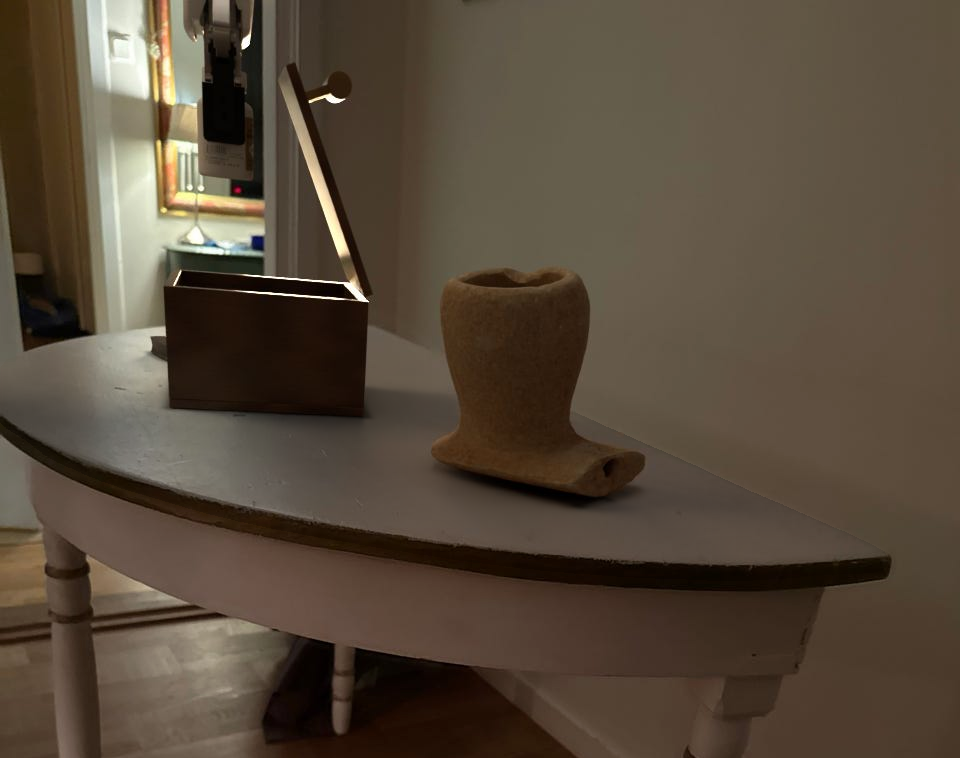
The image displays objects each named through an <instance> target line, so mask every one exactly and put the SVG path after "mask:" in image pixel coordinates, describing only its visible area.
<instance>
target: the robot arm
mask: <svg viewBox="0 0 960 758" xmlns="http://www.w3.org/2000/svg"><path fill="white" fill-rule="evenodd" d="M254 7H255V0H182V11H183V13H182V23H183V29H184V31H185V33H186V36H187V37H188V38H189V40H191V41H192V42H193V43H197V41H198V36H202V39H203V65H204V66H203V67H204V73H205V82H202V81H201V98H202V108H203V136H204V139H205V140H207V141H209V142H218V143H226V144H234V145H243V144H244V143H245V103H246V94H245V87H238V86H241V72H242V54H243V50H245V49H246V48H247V47H248V46H249V45H250V41H251V36H252V35H251V34H252V28H253V17H254V9H255V8H254ZM234 70H235V74H234ZM234 79H235V86H234ZM208 82H211V83H208Z"/></svg>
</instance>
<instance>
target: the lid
mask: <svg viewBox="0 0 960 758" xmlns="http://www.w3.org/2000/svg"><path fill="white" fill-rule="evenodd" d="M277 81H278V85H279V87H280V90H281V92H282V95H283V98H284V99H283V100H284V102H285V104H286V108H287V110H288V113H289V117H290V119H291V121H292V124H293V127H294V131H295V133H296V136H297V139H298V141H299V145H300V147H301V151H302V153H303V156H304V159H305V162H306V164H307V168H308V170H309V173H310V176H311V179H312V182H313V185H314V188H315V190H316V194H317V196H318V199H319V201H320V202H319V203H320V205H321V209H322V211H323V213H324V216H325V220H326V222H327V226H328V229H329V231H330V235H331V237H332V240H333V243H334V247H335V248H336V252H337V255H338V257H339V259H340V263H341V266H342V269H343V271H344V274H345V278H346V280H347V281H348V283H351V284H352V286H353V287H354V288H355V289H356V290H357V291H358V292H359V293H360V294H361V295H362V296H363V297H364V298H367V297H371V296H373V295H374V293H373V289H372V286H371V283H370V280H369V278H368V275H367V272H366V269H365V265H364V262H363V259H362V256H361V254H360V251H359V247H358V244H357V242H356V239H355V235H354V233H353V230H352V227H351V224H350V221H349V218H348V215H347V212H346V209H345V205H344V202H343V200H342V197H341V194H340V190H339V188H338V184H337V183H336V180H335V176H334V173H333V169H332V167H331V164H330V162H329V158H328V155H327V152H326V150H325V147H324V143H323V140H322V138H321V134H320V131H319V128H318V126H317V123H316V119H315V117H314V114H313V111H312V108H311V104H310V103H313V102H315V101H319V100H321V99H324V98H325V99H326V100H327V101H328V102H330V103H332V104H337V103H340V102H342V101H344V100H346V99H347V98H348V97H350V95H351V94H352V92H353V82H352V79H351V77H350V75H348V74H347V72H345V71H342V70H334V71H332V72H331V73H330V74H329V75H328V76H327V77H326V78H325V79H324V80H323V82H322V85H320V86H317V87H314V88H312V89H309V90H305V87H304V83H303V81H302V78H301V75H300V73H299V69H298V66H297V63H296V62H295V61H293V62H290V63H287V64H285V66H284V67H283V70H282V71H281V73H280V75H279V77H278V78H277Z"/></svg>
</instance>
